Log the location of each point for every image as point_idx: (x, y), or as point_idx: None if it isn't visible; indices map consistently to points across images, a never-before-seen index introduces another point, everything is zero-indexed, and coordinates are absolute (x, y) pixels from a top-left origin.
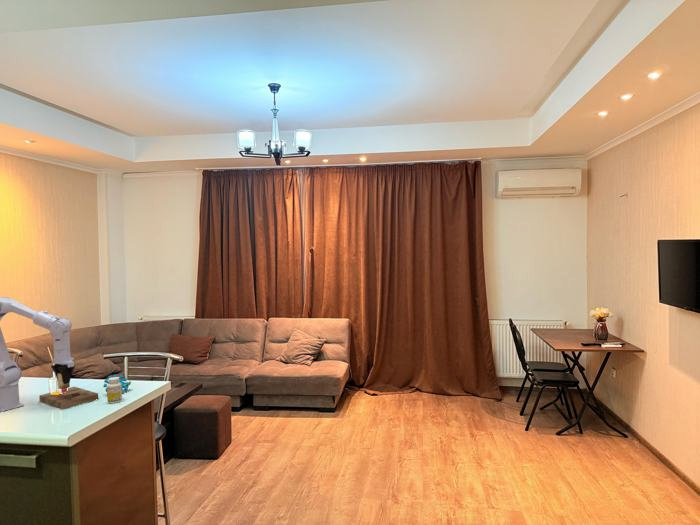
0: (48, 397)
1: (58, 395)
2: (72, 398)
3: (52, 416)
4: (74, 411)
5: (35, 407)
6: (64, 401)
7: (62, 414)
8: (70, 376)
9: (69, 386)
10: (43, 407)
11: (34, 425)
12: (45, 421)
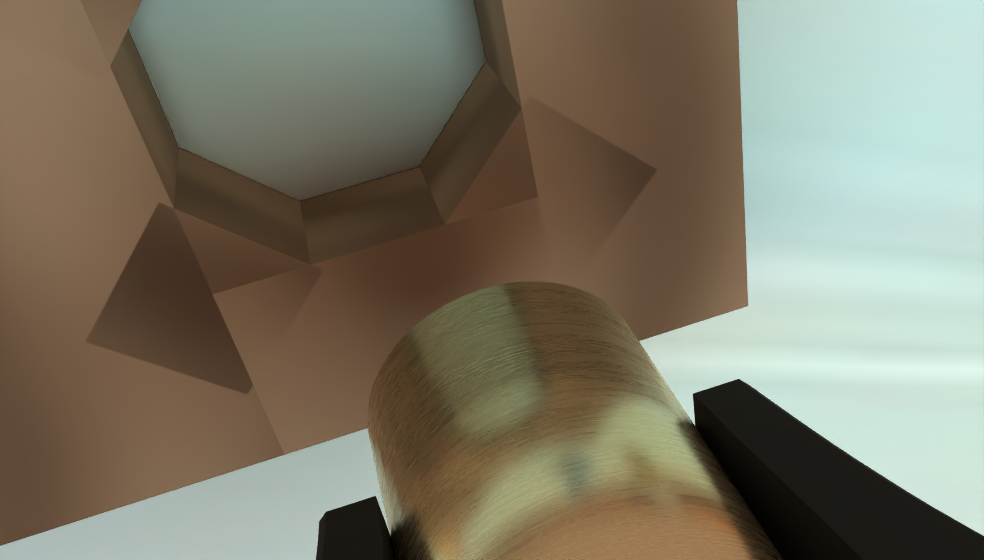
0: (100, 484)
1: (66, 331)
2: (591, 123)
3: (867, 370)
4: (948, 118)
5: (213, 547)
6: (668, 269)
7: (911, 268)
8: (912, 503)
9: (590, 299)
10: (311, 461)
11: (975, 510)
12: (965, 432)
